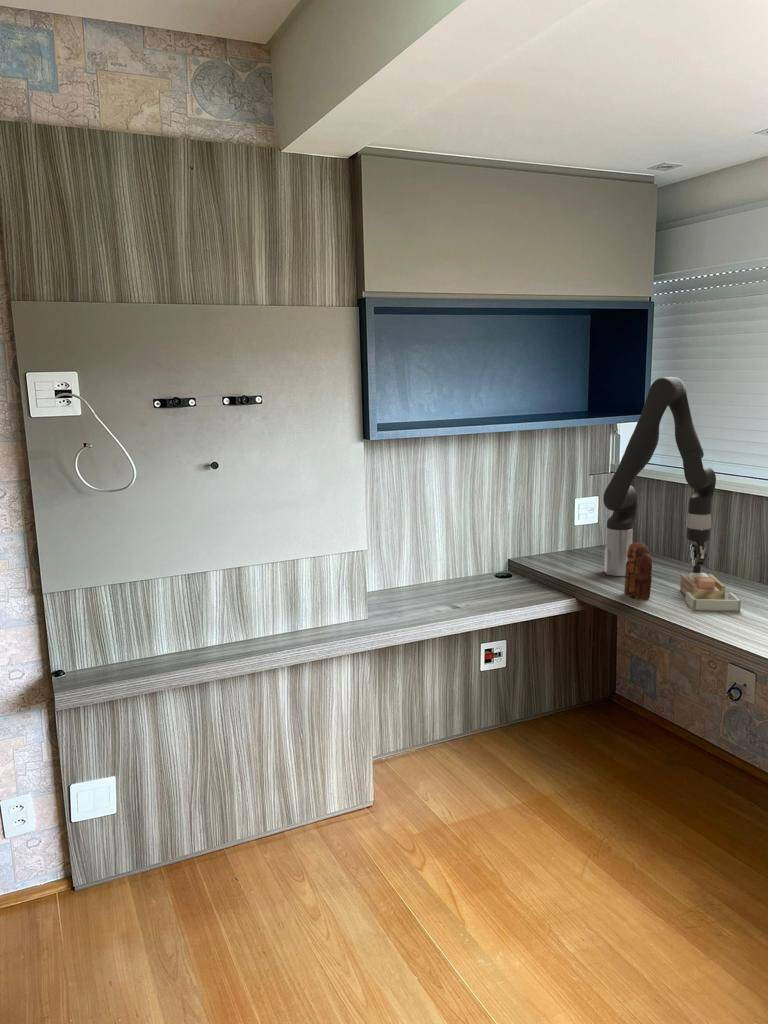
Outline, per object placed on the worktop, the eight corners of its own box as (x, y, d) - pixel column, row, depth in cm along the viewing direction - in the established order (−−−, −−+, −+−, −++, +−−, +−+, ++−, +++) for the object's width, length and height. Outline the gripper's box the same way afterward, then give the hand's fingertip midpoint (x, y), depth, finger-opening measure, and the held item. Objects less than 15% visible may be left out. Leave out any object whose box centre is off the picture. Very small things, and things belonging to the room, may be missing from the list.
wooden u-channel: (691, 602, 249) (692, 585, 248) (680, 589, 263) (680, 573, 262) (724, 603, 247) (725, 586, 246) (710, 590, 262) (711, 574, 261)
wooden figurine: (618, 591, 262) (620, 540, 259) (635, 590, 264) (637, 538, 261) (637, 601, 251) (640, 547, 248) (655, 599, 252) (657, 546, 249)
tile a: (693, 583, 256) (693, 576, 255) (689, 579, 261) (689, 572, 260) (709, 583, 255) (709, 576, 255) (704, 579, 260) (705, 572, 260)
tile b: (698, 588, 250) (698, 581, 250) (694, 584, 255) (694, 577, 254) (714, 588, 249) (715, 581, 249) (710, 584, 254) (710, 577, 254)
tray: (693, 610, 240) (693, 600, 239) (685, 602, 249) (686, 591, 248) (740, 611, 238) (740, 600, 238) (730, 603, 247) (731, 592, 246)
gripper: (682, 522, 266) (679, 571, 269) (692, 530, 253) (690, 581, 256) (704, 522, 265) (702, 571, 268) (716, 530, 252) (713, 581, 255)
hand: (696, 576), depth 262 cm, fingers closed
